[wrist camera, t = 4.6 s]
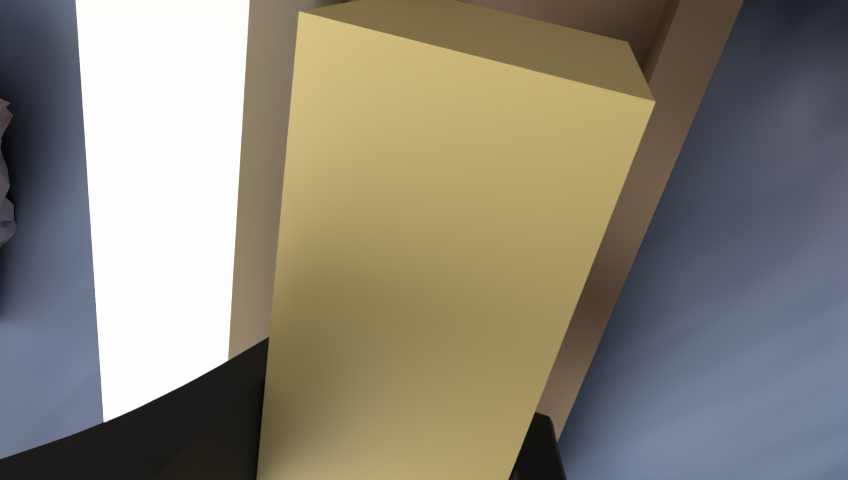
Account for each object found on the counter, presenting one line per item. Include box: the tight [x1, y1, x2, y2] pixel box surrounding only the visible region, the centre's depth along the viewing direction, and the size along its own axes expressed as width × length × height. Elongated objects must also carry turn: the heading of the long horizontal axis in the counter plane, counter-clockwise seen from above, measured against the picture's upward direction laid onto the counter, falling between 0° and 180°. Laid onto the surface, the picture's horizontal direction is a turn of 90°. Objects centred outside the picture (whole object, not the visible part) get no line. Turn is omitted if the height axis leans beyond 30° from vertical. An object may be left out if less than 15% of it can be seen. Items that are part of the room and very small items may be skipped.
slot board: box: [341, 0, 744, 442], centre depth 18 cm, size 22×16×4 cm
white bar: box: [76, 0, 341, 422], centre depth 17 cm, size 14×4×5 cm, turn 168°
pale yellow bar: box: [256, 0, 656, 480], centre depth 12 cm, size 14×4×5 cm, turn 168°
